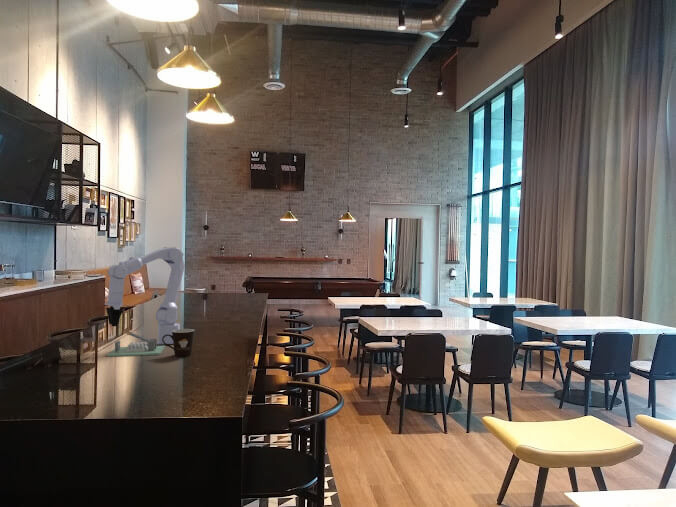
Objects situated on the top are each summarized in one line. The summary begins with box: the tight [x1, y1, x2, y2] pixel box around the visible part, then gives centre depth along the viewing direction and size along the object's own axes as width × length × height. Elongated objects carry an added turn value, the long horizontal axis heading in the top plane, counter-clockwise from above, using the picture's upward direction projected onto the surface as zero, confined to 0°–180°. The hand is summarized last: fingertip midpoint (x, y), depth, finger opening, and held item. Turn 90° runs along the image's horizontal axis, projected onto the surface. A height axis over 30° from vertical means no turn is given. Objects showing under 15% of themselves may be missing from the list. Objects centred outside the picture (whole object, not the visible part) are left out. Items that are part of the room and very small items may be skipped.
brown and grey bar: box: [123, 329, 155, 343], centre depth 199 cm, size 13×4×2 cm, turn 101°
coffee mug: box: [162, 328, 195, 358], centre depth 193 cm, size 12×9×10 cm
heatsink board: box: [106, 338, 166, 358], centre depth 199 cm, size 20×15×5 cm
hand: (113, 325), depth 200 cm, fingers open, 7 cm apart
